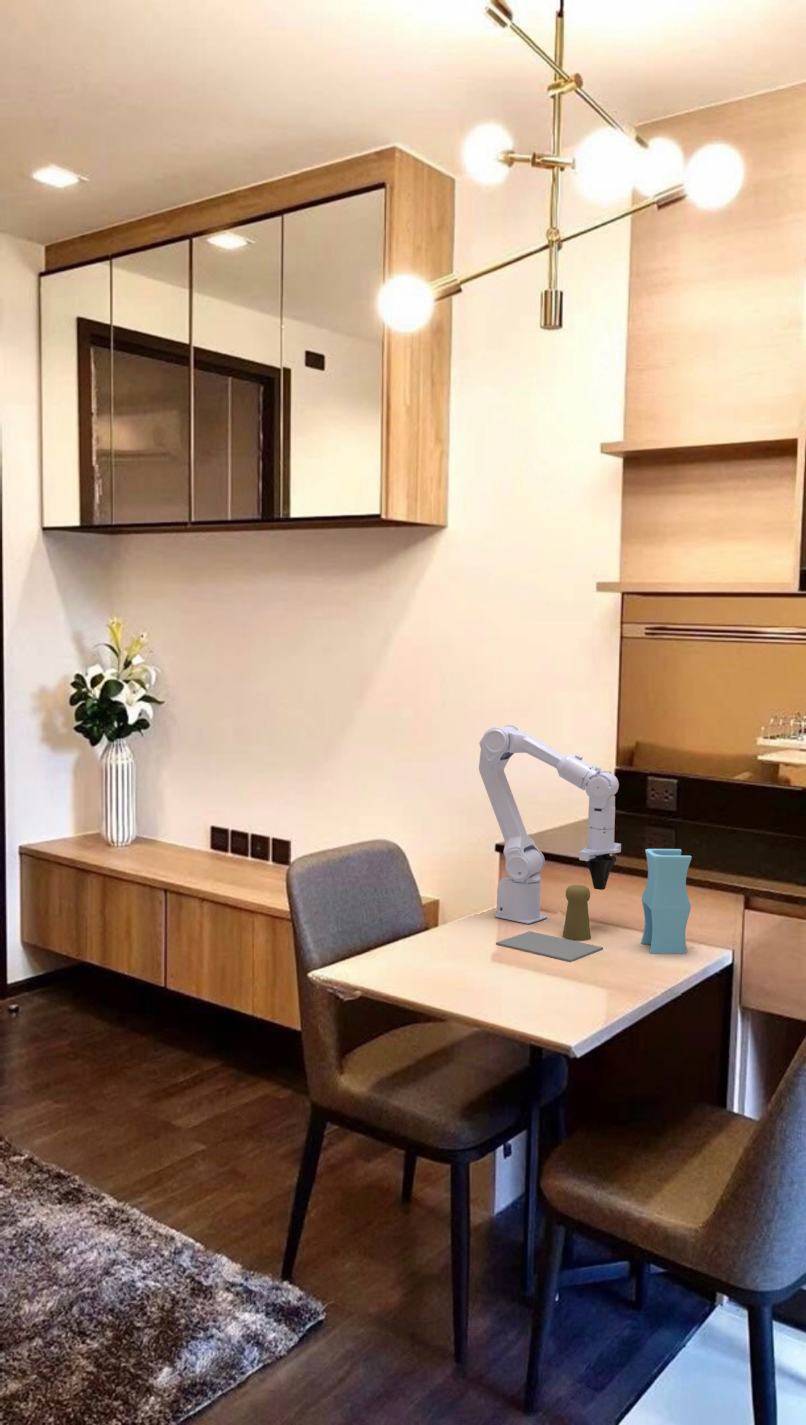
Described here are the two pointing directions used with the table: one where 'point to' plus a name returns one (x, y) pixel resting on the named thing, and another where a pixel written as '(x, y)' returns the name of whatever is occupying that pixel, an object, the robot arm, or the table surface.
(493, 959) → the table surface
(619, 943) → the table surface
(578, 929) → the olive waisted cylinder
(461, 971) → the table surface
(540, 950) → the mat
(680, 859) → the vase
